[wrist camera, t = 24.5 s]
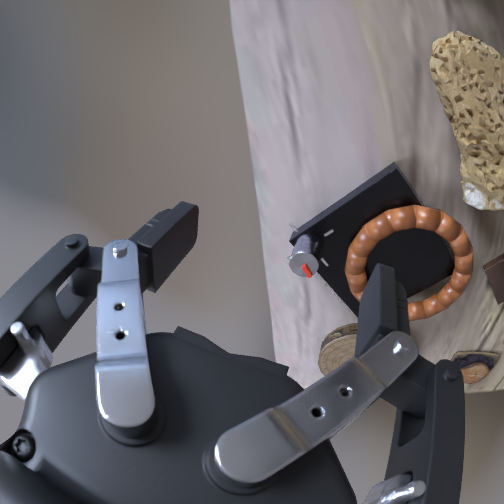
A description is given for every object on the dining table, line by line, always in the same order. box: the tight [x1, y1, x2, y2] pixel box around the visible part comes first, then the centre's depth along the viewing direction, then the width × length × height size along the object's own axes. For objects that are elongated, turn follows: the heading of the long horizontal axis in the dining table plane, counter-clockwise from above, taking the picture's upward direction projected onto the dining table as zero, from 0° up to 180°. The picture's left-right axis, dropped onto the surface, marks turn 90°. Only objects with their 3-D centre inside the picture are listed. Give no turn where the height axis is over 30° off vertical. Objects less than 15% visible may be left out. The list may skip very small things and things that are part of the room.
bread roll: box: [451, 351, 500, 384], centre depth 44 cm, size 11×8×4 cm
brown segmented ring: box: [345, 205, 473, 321], centre depth 36 cm, size 17×17×3 cm
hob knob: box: [289, 233, 323, 278], centre depth 38 cm, size 4×4×5 cm
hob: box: [288, 162, 455, 318], centre depth 39 cm, size 19×19×3 cm
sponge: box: [429, 31, 504, 211], centre depth 23 cm, size 13×8×20 cm
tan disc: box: [318, 323, 358, 376], centre depth 51 cm, size 16×16×3 cm
